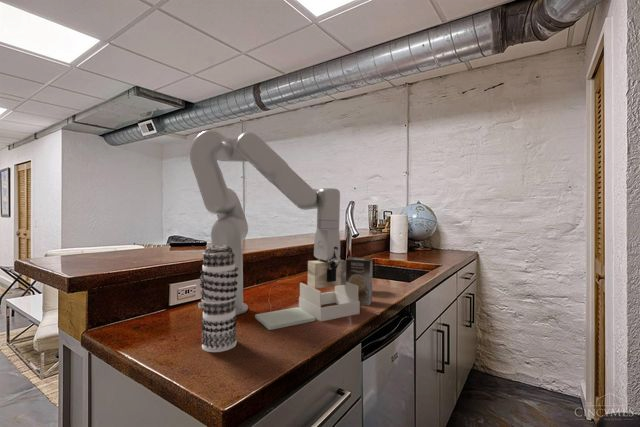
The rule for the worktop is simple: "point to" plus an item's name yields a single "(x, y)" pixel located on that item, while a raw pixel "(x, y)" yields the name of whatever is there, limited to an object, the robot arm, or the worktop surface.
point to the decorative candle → (218, 299)
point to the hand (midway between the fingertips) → (326, 278)
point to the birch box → (325, 274)
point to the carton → (330, 301)
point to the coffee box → (360, 277)
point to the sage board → (284, 318)
